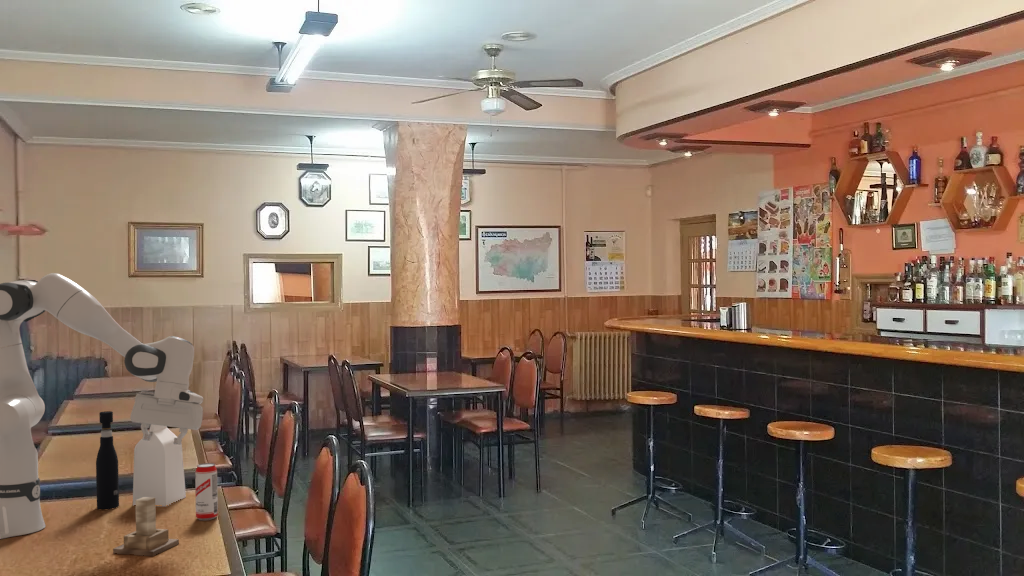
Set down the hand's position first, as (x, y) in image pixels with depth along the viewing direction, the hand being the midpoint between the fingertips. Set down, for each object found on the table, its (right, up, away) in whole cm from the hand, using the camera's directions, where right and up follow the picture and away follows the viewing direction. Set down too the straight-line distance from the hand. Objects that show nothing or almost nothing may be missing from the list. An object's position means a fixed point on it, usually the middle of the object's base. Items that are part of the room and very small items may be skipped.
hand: (161, 442), depth 256 cm
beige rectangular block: (+2, -24, -15) cm, 29 cm away
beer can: (+8, -25, +14) cm, 30 cm away
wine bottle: (-28, -26, +29) cm, 48 cm away
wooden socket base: (+2, -26, -15) cm, 30 cm away
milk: (-14, -25, +36) cm, 46 cm away
